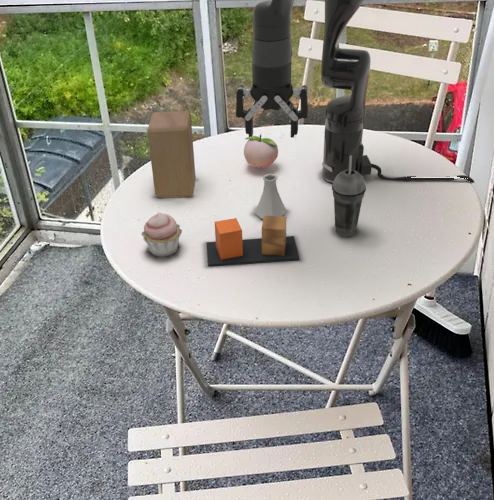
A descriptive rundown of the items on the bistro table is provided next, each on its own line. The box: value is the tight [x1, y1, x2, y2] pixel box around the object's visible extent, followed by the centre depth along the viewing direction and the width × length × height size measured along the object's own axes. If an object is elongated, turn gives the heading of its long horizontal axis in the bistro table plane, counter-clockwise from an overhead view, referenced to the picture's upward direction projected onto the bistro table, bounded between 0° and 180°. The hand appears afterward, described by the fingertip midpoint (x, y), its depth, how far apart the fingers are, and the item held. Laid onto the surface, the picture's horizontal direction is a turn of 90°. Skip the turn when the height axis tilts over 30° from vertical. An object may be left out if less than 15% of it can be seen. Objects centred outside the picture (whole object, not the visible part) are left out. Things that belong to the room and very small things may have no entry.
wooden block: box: [146, 110, 197, 198], centre depth 167 cm, size 10×10×20 cm
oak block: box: [261, 216, 288, 256], centre depth 144 cm, size 5×5×7 cm
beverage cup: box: [331, 155, 367, 238], centre depth 145 cm, size 7×7×20 cm
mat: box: [206, 235, 301, 267], centre depth 147 cm, size 20×8×1 cm, turn 90°
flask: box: [254, 173, 287, 220], centre depth 156 cm, size 7×7×10 cm
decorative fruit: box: [243, 134, 279, 169], centre depth 174 cm, size 9×8×10 cm
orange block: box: [214, 217, 243, 260], centre depth 145 cm, size 5×5×7 cm
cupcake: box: [140, 211, 183, 258], centre depth 148 cm, size 9×9×10 cm
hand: (271, 135), depth 135 cm, fingers open, 8 cm apart
